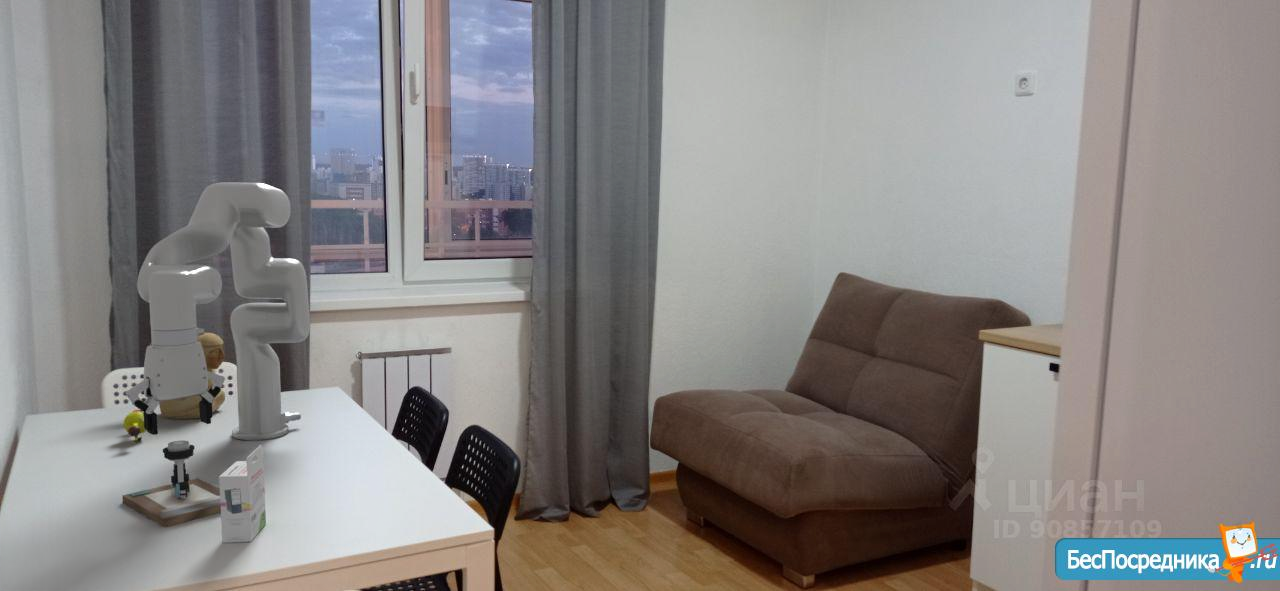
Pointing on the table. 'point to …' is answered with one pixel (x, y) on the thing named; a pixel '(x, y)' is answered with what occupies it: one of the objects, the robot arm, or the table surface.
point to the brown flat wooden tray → (176, 503)
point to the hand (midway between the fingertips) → (179, 427)
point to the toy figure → (134, 424)
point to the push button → (179, 466)
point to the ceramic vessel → (214, 359)
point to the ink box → (243, 499)
